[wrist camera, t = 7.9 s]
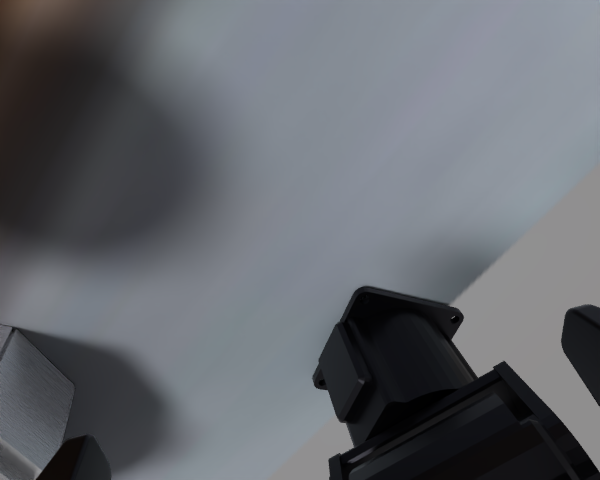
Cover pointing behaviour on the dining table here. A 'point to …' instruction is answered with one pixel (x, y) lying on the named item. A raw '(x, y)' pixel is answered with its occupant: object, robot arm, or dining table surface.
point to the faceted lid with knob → (29, 407)
